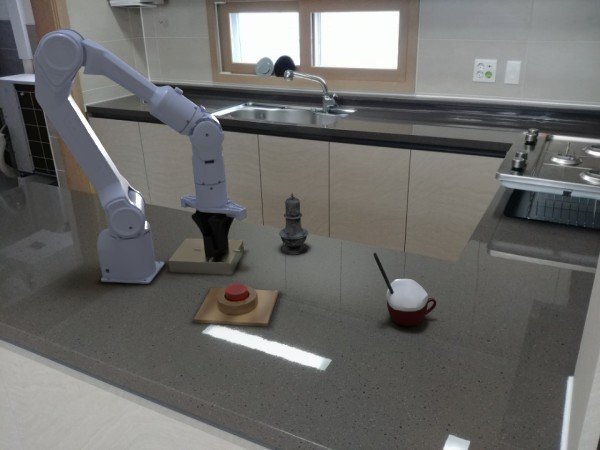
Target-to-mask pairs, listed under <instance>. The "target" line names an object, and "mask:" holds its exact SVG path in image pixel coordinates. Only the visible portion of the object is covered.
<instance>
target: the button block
mask: <svg viewBox="0 0 600 450" xmlns="http://www.w3.org/2000/svg"><path fill="white" fill-rule="evenodd" d="M246 286H247V289H248V298H247V299H245V300H243V301H239V302H230V301H228V300H227V299H226V292H225V289H226V288H227V287H228V286H226V287H225V288H224V287H211V288H210V290H209V291H208V293H207V295H206V296H205V299H204V300H203V301H202V304H201V305H200V307H199V309H198V310H197V312H196V314H195V315H194V317H193V323H194V324H195V323H196V324H209V325H232V326H247V327H265V328H268V327H269V324H270V321H271V317H272V315H273V312H274V309H275V306H276V303H277V300H278V297H279V295H280V294H279V292H280V291H279V290H268V289H255V288H254V287H251V286H250V285H246Z"/></svg>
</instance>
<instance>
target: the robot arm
mask: <svg viewBox="0 0 600 450" xmlns="http://www.w3.org/2000/svg"><path fill="white" fill-rule="evenodd" d="M32 60H33V65H34V96H35V99H36V101H37V103H38V105H39V106H40V107H41V109H42V111H43V112H44V114H45V115H46V117H47V118H48V120H49V121H50V123H51V125H52V126H53V128H54V129H55V130H56V132H57V134H58V135H59V137H60V138H61V139H62V142H64V144H65V146H66V148H67V149H68V150H69V152H70V153H71V155H72V157H73V158H74V159H75V161H76V162H77V164H78V165H79V167H80V168H81V170H82V172H84V174H85V176H86V178H87V179H88V181H89V183H91V185H92V187H93V188H94V189H95V191H96V194H97V196H98V199H99V202H100V205H101V208H102V210H103V211H104V212H105V214H106V218H107V219H106V220H107V226H108V228H104V229H102V230H101V232H100V233H99V234H98V237H97V242H96V249H97V250H96V251H97V255H98V260H99V266H100V271H101V276H102V277H101V278H100V282H102V283H121V284H122V283H123V284H142V285H148V284H151V282H152V281H153V280H154V278H155V277H157V275H158V274H159V273H160V271H161V270H162V268H163V267H164V266H165V264H166V263H165V262H164V261H157V260H156V255H155V247H154V241H153V234H152V228H151V224H150V223H149V222H148V221H147V219H146V213H145V212H146V211H145V209H146V201H145V197H144V195H143V194H142V193H141V192H140V191H138V190H137V189H135V188H134V187H133V186H131V184H130V182H129V181H128V180H127V178H125V177H124V176H123V175H122V174H121V173H120V171H119V170H118V168H117V166H116V165H115V163H114V161H113V160H112V159H111V157H110V155H109V154H108V152H107V151H106V149H105V147H104V146H103V144H102V143H101V141H100V139H99V138H98V136H97V135H96V133H95V131H94V130H93V128H92V127H91V125H90V124H89V122H88V120H87V119H86V117H85V115H84V114H83V112H82V111H81V109H80V107H79V105H78V104H77V102H76V101H75V99H74V98H73V96H72V91H73V87H74V83H75V81H76V76H77V74H78V72H79V71H80V70H81V68H82V67H84V69H83V73H82V74H83V75H88V76H89V75H92V76H94V75H95V76H103V77H106V78H108V79H109V80H110V81H112V82H114V83H116V84H117V85H119V86H120V87H121V88H123V89H125V90H126V91H128V92H130V93H131V94H133V95H134V96H136V97H138V98H139V99H140V100H142V101H144V102H146V103H147V107H148V112H149V114H150V115H151V116H153V117H154V118H156V119H157V120H159V121H160V122H161V123H163V124H165V125H166V126H168V127H169V128H171V129H172V130H174V131H175V132H177V133H178V134H180V135H181V136H187V137H189V141H190V143H191V151H192V155H191V163H192V164H191V165H192V173H193V183H194V184H193V185H194V191H195V195H191V194H186V195H184V196H181V197H180V206H181V207H180V208H191V209H195V212H194V213H192V214H191V220H192V221H193V222H194V223H195V224H196V226H197V227H198V229H199V231H200V234H201V235H202V236H203V235H204V234H206V233H208V232H210V231H211V230H212V231H213V234H214V240H215V246H216V249H217V250H219V251H220V250H222V249H223V248H225V247H226V243H227V237H228V238H229V233H230V229H231V226H232V224H233V222H234V220H236V221H239V222H241V221H243V220H244V219H246V218H247V217H248V213H247V207H244V206H241V205H239V204H237V203H235V202H233V201H232V200H231V199H230V196H228V190H227V189H228V188H227V179H226V167H225V156H224V153H223V143H224V139H225V132H224V131H223V128H222V125H221V124H220V122H219V119H217V118H216V117H215V115H213V114H212V112H211V111H208V110H207V109H206V107H205V106H203V105H200V106H198V105H197V104H195V103H194V102H193V101H191V100H190V99H188V98H187V97H186V96H184V95H183V93H184V91H183V90H182V89H181V88H179V87H177V86H175V88H173V87H171V86H170V85H164V86H157V85H156V84H154V83H153V82H152V81H150V80H149V79H148V78H147V77H145V76H143V75H142V74H141V73H139V72H138V71H137V70H135V69H134V68H133V67H132V66H130V65H129V64H127V63H126V62H125V61H123V60H122V59H121V58H120V57H118V56H117V55H115V53H113V52H112V51H111V50H108V49H107V48H106V47H105V46H102V45H101V44H99V43H97V42H96V41H94V40H92V39H91V38H88V37H87V38H85V37H84V36H83V35H82V34H81V33H80V32H78V31H77V30H75V29H73V28H69V27H61V28H58V29H55V30H53V31H51V32H48V33H46V34H44V35H43V36H42V38H40V40H39V43H38V44H37V47H36V49H35V52H34V55H33V58H32Z"/></svg>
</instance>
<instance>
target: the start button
mask: <svg viewBox="0 0 600 450" xmlns="http://www.w3.org/2000/svg"><path fill="white" fill-rule="evenodd" d="M247 286H248V285H247V284H244V283H232V284H229V285H228V286H226V287H227V288H226V287H225V288H226V289H225V292H226V299H227V300H228V301H230V302H239V301H243V300H245V299H247V298H248V289H247Z"/></svg>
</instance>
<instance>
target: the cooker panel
mask: <svg viewBox="0 0 600 450" xmlns="http://www.w3.org/2000/svg"><path fill="white" fill-rule="evenodd" d="M228 244H229V246H228V247H226V248H225V249H223V250H221V251H220V252H218V253H216V254H215V255H213V256H210V255H206V254H205V251H204V242H203V238H190V237H189V238H188V237H186V238H185V239H184V240H183V241H182V243H180V245H179V246H178V248H177V249H176V250H175V251H174V253H173V254H172V255H171V257H170V258H169V259H168V267H169V273H182V274H183V273H184V274H185V273H186V274H204V275H205V274H206V275H224V276H225V275H228V276H232V274H233V273H234V271H235V269H236V267H237V265H238V264H239V262H240V260H241V257H242V256H243V254H244V252H245V247H244V240H243V239H228Z"/></svg>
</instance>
